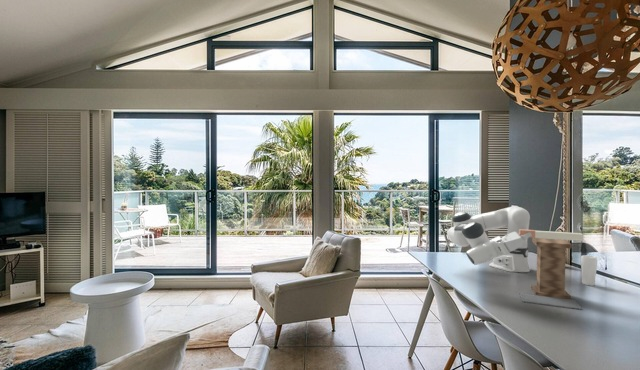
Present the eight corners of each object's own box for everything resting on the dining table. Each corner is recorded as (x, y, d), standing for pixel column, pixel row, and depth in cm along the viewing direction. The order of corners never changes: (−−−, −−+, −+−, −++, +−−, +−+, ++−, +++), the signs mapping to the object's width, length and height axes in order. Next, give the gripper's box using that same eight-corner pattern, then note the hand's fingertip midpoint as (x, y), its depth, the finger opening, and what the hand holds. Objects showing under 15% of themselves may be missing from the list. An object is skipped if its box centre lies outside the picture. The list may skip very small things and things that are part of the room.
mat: (523, 302, 152) (523, 300, 152) (519, 294, 163) (519, 293, 163) (582, 309, 144) (582, 308, 144) (574, 301, 154) (574, 300, 154)
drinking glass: (599, 287, 174) (600, 258, 174) (584, 286, 175) (585, 257, 175) (591, 282, 181) (592, 255, 180) (577, 282, 182) (578, 254, 182)
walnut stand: (535, 295, 161) (536, 241, 161) (531, 287, 172) (532, 237, 172) (570, 299, 156) (572, 244, 155) (563, 291, 167) (564, 240, 166)
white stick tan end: (520, 236, 156) (520, 230, 156) (519, 235, 159) (519, 229, 159) (583, 241, 146) (583, 233, 146) (580, 239, 149) (581, 232, 149)
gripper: (502, 247, 169) (530, 235, 164) (506, 255, 151) (538, 242, 146) (495, 236, 170) (522, 224, 165) (499, 243, 152) (530, 230, 147)
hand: (530, 232), depth 155 cm, fingers closed on white stick tan end, 3 cm apart
